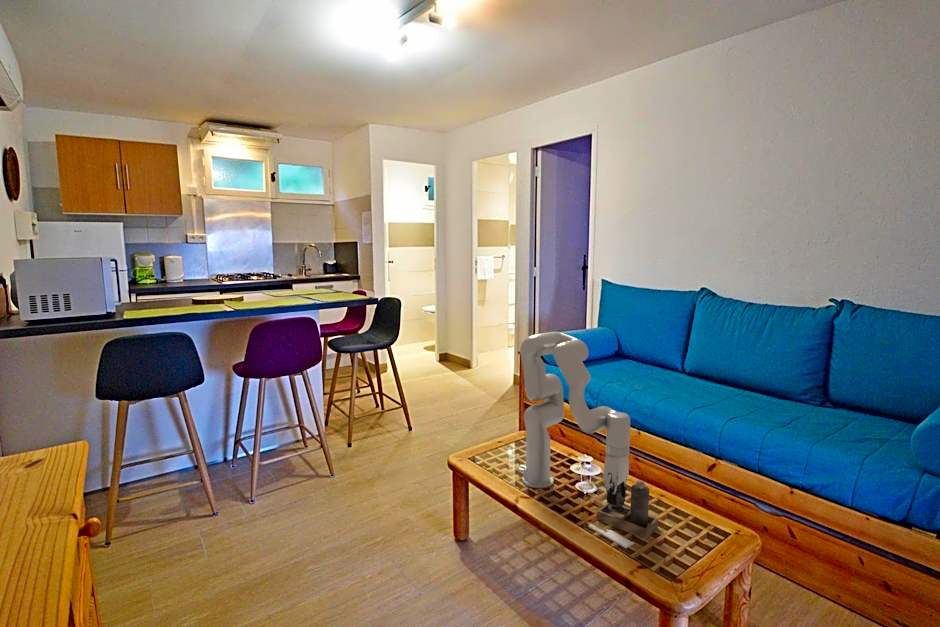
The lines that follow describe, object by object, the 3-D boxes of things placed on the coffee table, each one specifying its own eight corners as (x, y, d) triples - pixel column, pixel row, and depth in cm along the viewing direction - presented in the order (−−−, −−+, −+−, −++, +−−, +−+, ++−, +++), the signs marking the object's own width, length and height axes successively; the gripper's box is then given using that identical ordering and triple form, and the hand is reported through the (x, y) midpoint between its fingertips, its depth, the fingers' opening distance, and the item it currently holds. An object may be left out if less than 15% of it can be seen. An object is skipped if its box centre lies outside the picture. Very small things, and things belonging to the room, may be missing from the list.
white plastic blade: (598, 522, 166) (598, 519, 166) (635, 544, 154) (636, 541, 154) (588, 527, 163) (588, 524, 163) (625, 549, 151) (626, 546, 151)
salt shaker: (617, 514, 163) (618, 480, 162) (603, 507, 168) (604, 473, 166) (628, 509, 166) (629, 475, 165) (614, 502, 171) (615, 469, 170)
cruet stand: (596, 519, 168) (598, 473, 165) (609, 509, 174) (610, 464, 172) (646, 539, 156) (648, 490, 154) (657, 527, 162) (659, 480, 160)
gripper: (619, 439, 173) (617, 487, 176) (594, 454, 161) (593, 506, 163) (639, 445, 168) (637, 494, 170) (616, 460, 156) (614, 513, 158)
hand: (616, 499), depth 167 cm, fingers closed on salt shaker, 5 cm apart
